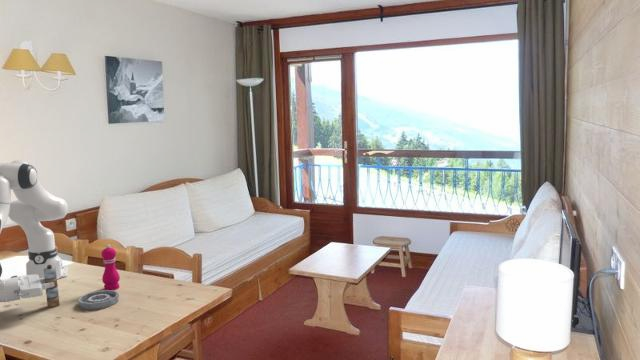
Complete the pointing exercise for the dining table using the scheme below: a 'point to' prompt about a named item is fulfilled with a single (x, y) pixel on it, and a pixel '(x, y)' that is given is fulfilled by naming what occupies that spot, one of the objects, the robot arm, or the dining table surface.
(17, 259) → the dining table surface
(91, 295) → the tray
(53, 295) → the bead column
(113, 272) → the pepper mill
